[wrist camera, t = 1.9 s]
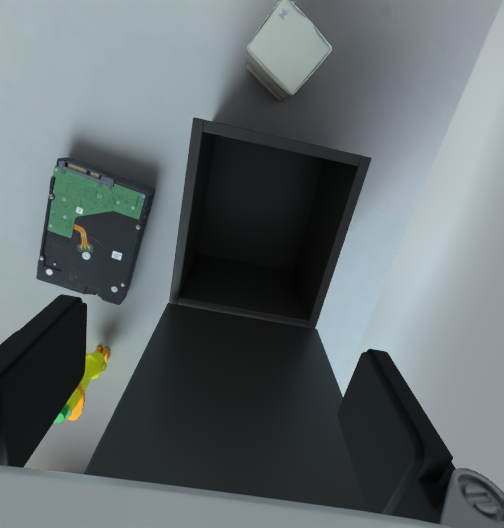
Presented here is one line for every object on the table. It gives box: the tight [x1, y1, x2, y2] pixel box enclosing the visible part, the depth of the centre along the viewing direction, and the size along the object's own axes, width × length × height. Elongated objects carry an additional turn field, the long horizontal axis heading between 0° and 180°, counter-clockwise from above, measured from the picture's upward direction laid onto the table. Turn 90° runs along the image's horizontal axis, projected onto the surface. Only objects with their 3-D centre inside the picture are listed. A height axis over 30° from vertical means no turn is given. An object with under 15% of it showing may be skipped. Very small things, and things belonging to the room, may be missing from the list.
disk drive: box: [36, 158, 155, 305], centre depth 38 cm, size 10×3×15 cm
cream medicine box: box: [246, 0, 332, 102], centre depth 29 cm, size 5×4×10 cm
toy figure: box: [54, 346, 109, 424], centre depth 40 cm, size 7×4×12 cm, turn 166°
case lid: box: [84, 303, 366, 512], centre depth 22 cm, size 16×14×1 cm
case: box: [169, 118, 371, 329], centre depth 33 cm, size 16×14×12 cm
